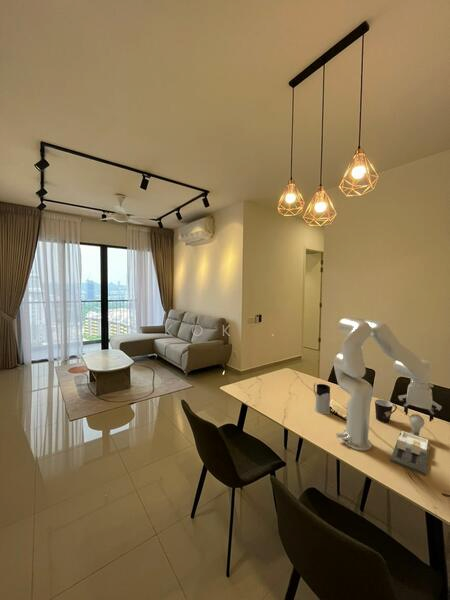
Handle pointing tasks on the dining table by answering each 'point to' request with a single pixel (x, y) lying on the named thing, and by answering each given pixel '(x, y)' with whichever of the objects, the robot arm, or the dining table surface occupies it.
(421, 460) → the panel
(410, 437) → the socket tray
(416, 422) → the lightbulb
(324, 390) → the grey black pitcher
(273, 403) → the dining table surface
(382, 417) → the coffee mug
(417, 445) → the toggle tagged
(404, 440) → the toggle
